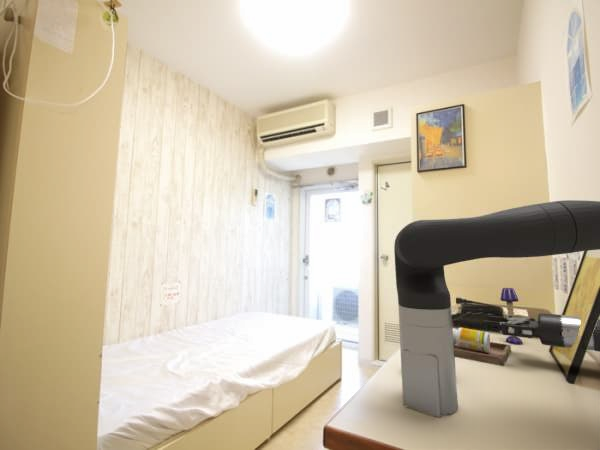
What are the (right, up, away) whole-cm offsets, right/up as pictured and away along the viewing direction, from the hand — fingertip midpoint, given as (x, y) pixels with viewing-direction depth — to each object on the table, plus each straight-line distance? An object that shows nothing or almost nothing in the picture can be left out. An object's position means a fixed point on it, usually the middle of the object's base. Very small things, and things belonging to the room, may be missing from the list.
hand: (485, 322), depth 80 cm
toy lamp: (+15, -10, +11) cm, 21 cm away
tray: (-2, -9, +1) cm, 9 cm away
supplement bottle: (0, -5, -1) cm, 5 cm away
